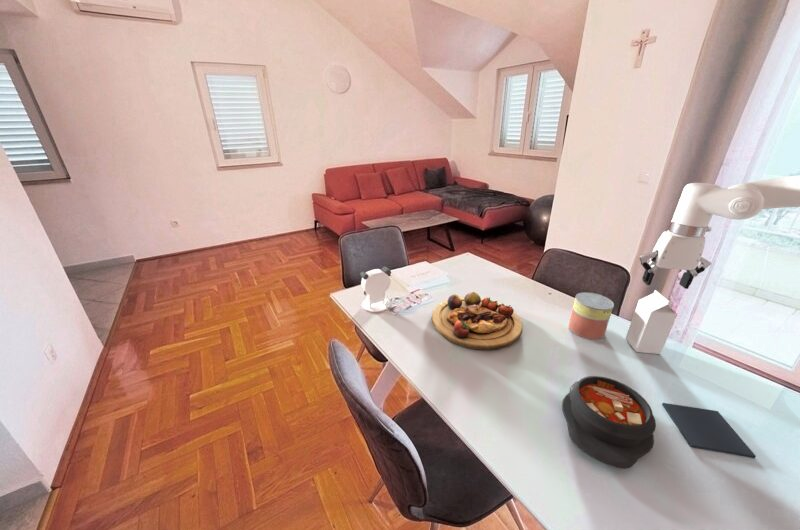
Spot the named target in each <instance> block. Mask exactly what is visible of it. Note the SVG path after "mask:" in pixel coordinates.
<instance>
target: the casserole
mask: <svg viewBox="0 0 800 530" xmlns="http://www.w3.org/2000/svg"><path fill="white" fill-rule="evenodd" d="M561 409H562V414H563V416H564V418H565V421H566V425H567V431H568V432H567V433H568V437H569V438H570V441H572V443H573V444H574V445H575V446H577V448H578V449H580V450H581V451H582V452H584V453H585V454H586V455H588V456H590V457H591V458H593V459H595V460H596V461H598V462H600V463H603V464H605V465H607V466H611V467H613V468H618V469H623V470H625V469H630V468H632V467H633V466H634V465H635V464H636V463H637V461H638V460H639V459H640V458H642V457H643V456H645V455H647V454H648V453H650V451H651V450H652V449H653V447H654V443H655V439H654V438H655V437H654V433H655V431H656V427H657V423H656V419H655V416H654V413H653V410H652V407H651V406H650V403H648V401H647V400H646V399H645V398H644V397H643V396H642V395H641V394H640V393H639V392H638V391H636V390H635V389H633V388H631V387H630V386H629V385H627V384H624V383H623V382H621V381H619V380H616V379H613V378H610V377H606V376H601V375H589V376H584V377H582V378H580V379H579V380H578V381H577V380H576V381H575V382H574V383H573V384H572V385H571V386H570V388H569V392H568V393H566V395H565V396H564V397H563V399H562V403H561Z"/></svg>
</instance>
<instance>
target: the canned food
mask: <svg viewBox="0 0 800 530" xmlns="http://www.w3.org/2000/svg"><path fill="white" fill-rule="evenodd" d="M614 307H615V303H614V301H613V300H611V299H610V298H608V297H606V296H604V295H603V294H599V293H595V292H589V291H583V292H579V293H576V295H575V298H574V303H573V306H572V310H571V313H570V318H569V321H568V323H567V327H568V329H569V331H570V332H571V333H573V334H574V335H577V337H580V338H582V339H586V340H592V341H599V340H602V339H603V338H604V337H605V334H606V331H607V328H608V325H609V323H610V319H611V316H612V312H613V309H614Z"/></svg>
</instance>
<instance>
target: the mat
mask: <svg viewBox="0 0 800 530" xmlns="http://www.w3.org/2000/svg"><path fill="white" fill-rule="evenodd" d="M662 407H663V408H664V410H665V411H666V412H667V414H668V416H669V417H670V419H671V420H672V422H673V423H674V424H675V426H676V428H677V429H678V428H679V429H678V431H679V432H680V433H681V435H682V436H683V438H684V439H685V441H686V443H687V444H688V446H689V447H690V448H695V449H701V450H706V451H712V452H718V453H724V454H730V455H734V456H740V457H741V456H742V457H746V458H752V459H755V458H757V455H756V454H755V453H754V452H753V451H752V450H751V448H750V447H749V446H748V445H747V444H746V443H745V441H744V440H743V439H742V438H741V436H740V435H739V434H738V433H737V432H736V430H735V429H734V428H733V427H732V426H731V425H730V424H729V423H728V421H727V420H726V419H725V418H724V417H723V415H722V414H721V413H720V412H719V411H718V410H714V409H707V408H701V407H693V406H688V405H680V404H674V403H667V402H662Z"/></svg>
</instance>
